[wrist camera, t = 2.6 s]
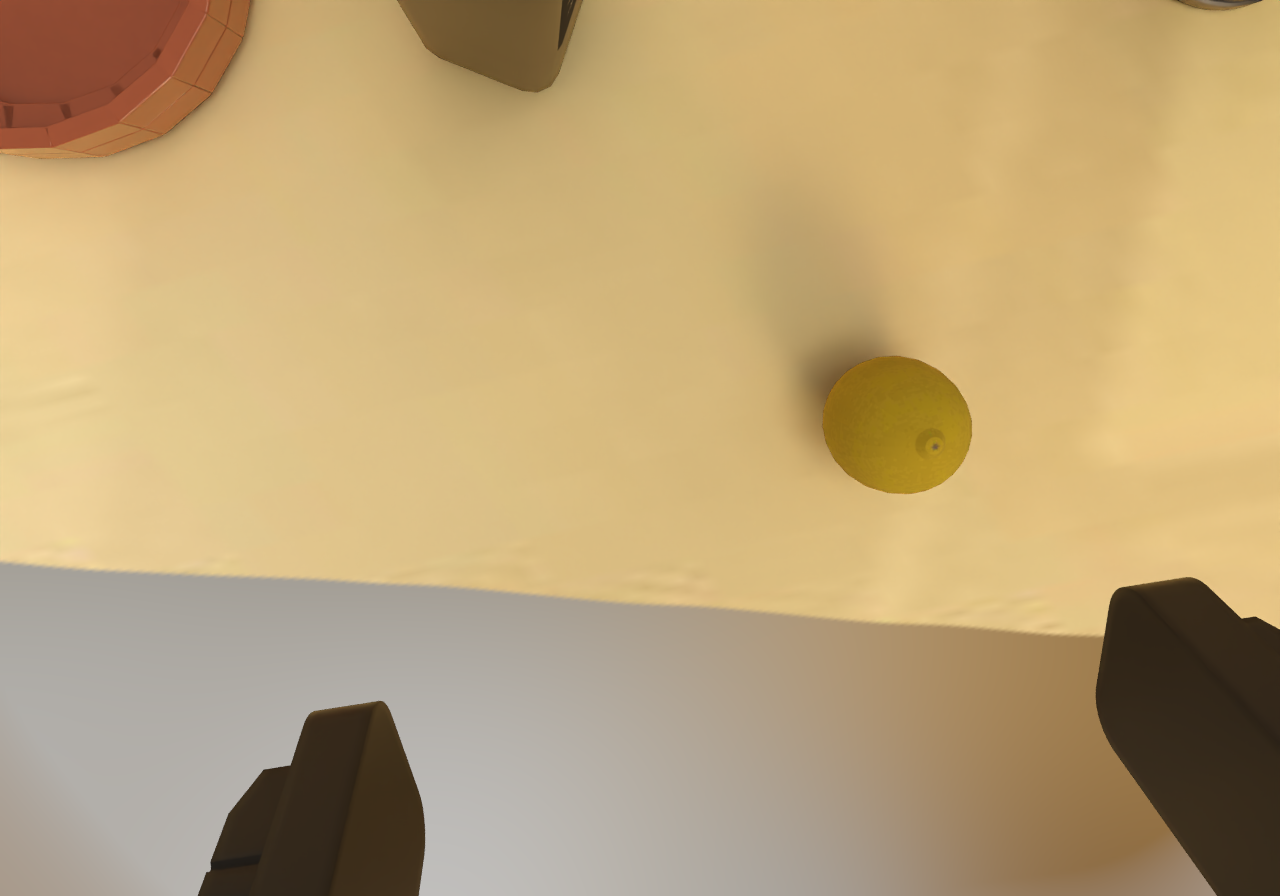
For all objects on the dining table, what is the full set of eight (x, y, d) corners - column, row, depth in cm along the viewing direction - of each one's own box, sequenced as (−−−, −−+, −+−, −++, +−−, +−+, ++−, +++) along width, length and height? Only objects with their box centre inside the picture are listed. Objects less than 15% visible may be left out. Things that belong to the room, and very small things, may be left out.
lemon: (813, 478, 42) (876, 534, 34) (790, 362, 40) (850, 393, 32) (928, 448, 42) (1016, 496, 34) (908, 331, 40) (996, 355, 33)
